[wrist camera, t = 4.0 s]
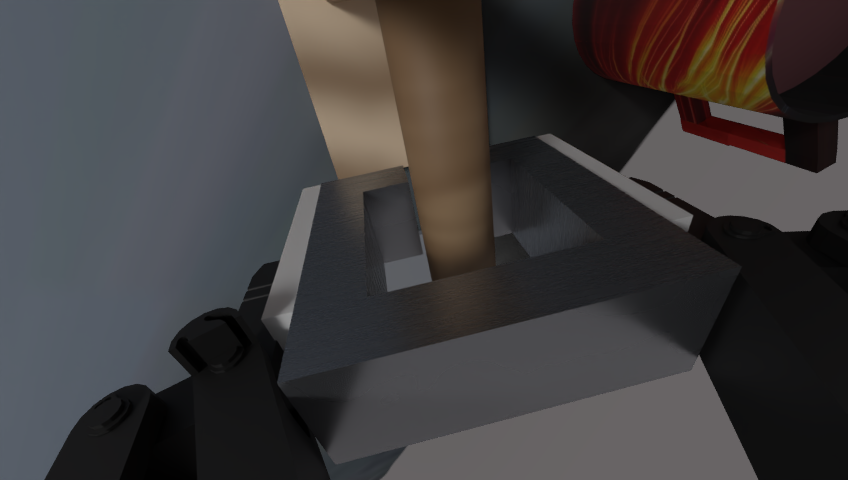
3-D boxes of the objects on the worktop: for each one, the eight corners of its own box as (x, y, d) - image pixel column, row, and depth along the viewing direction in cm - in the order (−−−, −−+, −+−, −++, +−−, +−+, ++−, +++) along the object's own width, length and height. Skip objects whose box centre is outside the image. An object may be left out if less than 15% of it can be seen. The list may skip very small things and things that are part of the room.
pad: (319, 253, 27) (319, 258, 26) (429, 228, 27) (430, 232, 26) (342, 306, 30) (342, 311, 29) (439, 282, 30) (440, 287, 30)
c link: (345, 250, 14) (335, 464, 7) (321, 183, 12) (277, 383, 5) (532, 206, 14) (691, 370, 7) (534, 135, 12) (742, 266, 6)
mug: (673, 129, 26) (870, 194, 16) (541, 36, 21) (709, 49, 11) (785, -8, 22) (1142, -34, 12) (655, -165, 17) (1090, -439, 7)
